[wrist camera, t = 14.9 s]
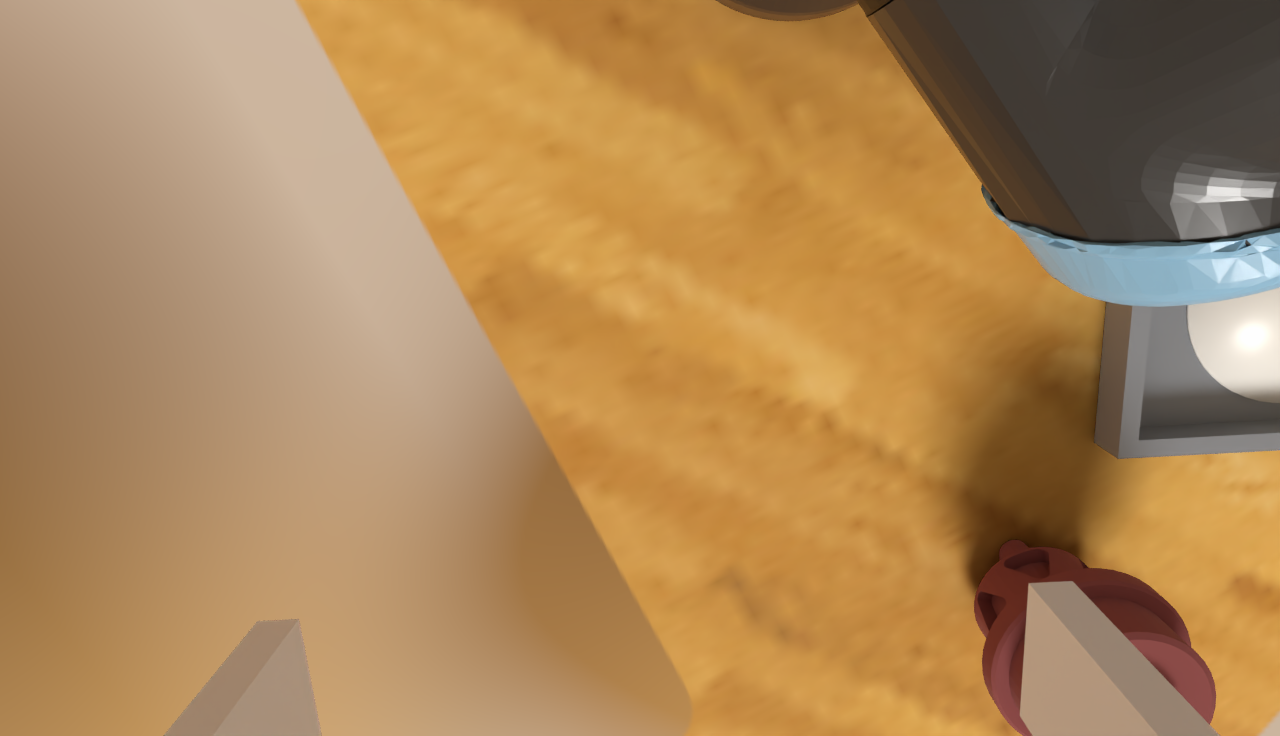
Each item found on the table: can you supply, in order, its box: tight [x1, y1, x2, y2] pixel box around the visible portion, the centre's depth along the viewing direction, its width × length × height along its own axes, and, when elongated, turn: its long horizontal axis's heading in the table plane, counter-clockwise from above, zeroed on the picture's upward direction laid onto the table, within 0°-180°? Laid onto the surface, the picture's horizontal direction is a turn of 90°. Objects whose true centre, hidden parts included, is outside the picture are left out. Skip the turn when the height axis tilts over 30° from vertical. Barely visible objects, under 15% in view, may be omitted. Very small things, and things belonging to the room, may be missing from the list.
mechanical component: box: [974, 540, 1216, 736], centre depth 44 cm, size 12×10×10 cm
